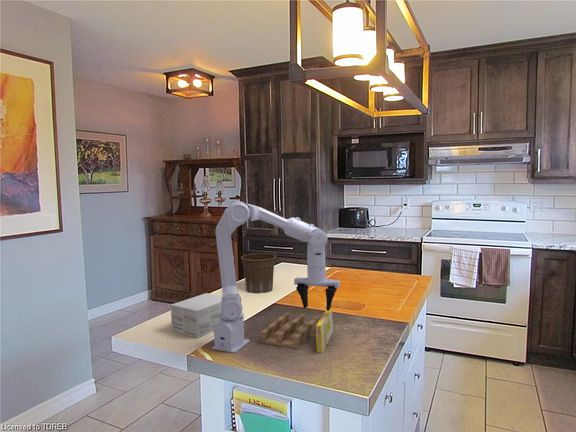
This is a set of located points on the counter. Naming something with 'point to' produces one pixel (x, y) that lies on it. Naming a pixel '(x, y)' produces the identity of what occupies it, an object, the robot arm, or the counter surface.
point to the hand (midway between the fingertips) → (317, 308)
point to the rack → (289, 331)
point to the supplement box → (196, 315)
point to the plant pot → (258, 272)
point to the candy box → (324, 330)
